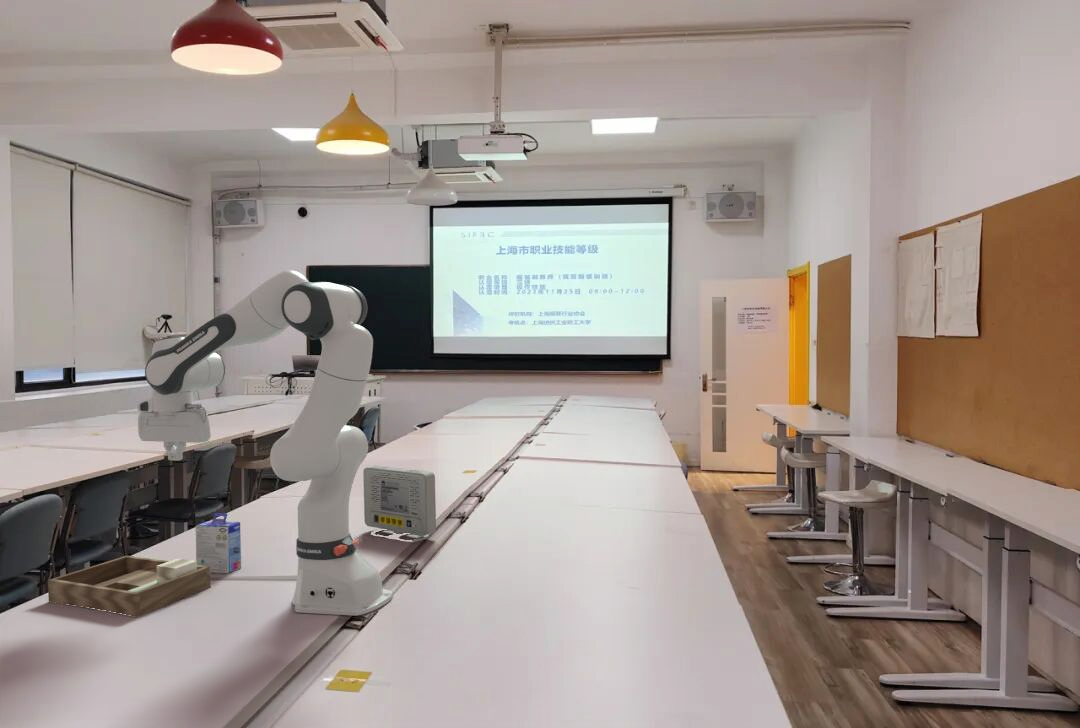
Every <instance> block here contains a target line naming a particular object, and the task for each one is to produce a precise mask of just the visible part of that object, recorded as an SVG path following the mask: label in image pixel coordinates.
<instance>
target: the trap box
mask: <svg viewBox="0 0 1080 728" xmlns="http://www.w3.org/2000/svg"><path fill="white" fill-rule="evenodd" d="M169 561H170V560H162V559H155V558H148V557H139V556H133V555H132V556H131V555H124V556H121V557H117V558H115V559H111V560H108V561H104V562H103V563H99V564H95V565H92V566H89V567H88V566H87V567H86V568H82V569H79V570H75V571H73V572H69V573H67V574H64V575H61V576H57V577H55V578H54V577H53V578H50V579H48V580H47V593H48V596H47V597H48V602H49V603H53V602H56V603H55V604H59V603H63V604H62V605H64V604H69V605H68V606H70V605H76V606H83V607H89V608H95V609H100V610H106V611H111V612H116V613H122V614H126V615H125V616H127V615H131V616H130V617H132V616H136V617H135V618H138V617H140V615H141V616H143V615H145V613H146V614H148V613H151V612H153V611H155V610H159V609H160V608H163V607H165V606H167V605H170V604H172V603H175V602H177V601H180V600H182V599H186V598H188V597H190V596H192V595H194V594H197V593H200V592H202V591H204V590H207V589H209V588H211V572H210V567H209V566H201V565H197V570H195V571H192V572H190V573H187V574H184V575H182V576H179V577H176V578H173V579H171V580H168V581H165V582H163V583H157V566H158V565H160V564H163V563H166V562H169ZM50 601H51V602H50ZM76 606H75V607H76ZM150 611H151V612H150ZM137 616H138V617H137Z"/></svg>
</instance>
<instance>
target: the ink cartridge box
mask: <svg viewBox="0 0 1080 728" xmlns="http://www.w3.org/2000/svg"><path fill="white" fill-rule="evenodd" d="M220 516H221V517H223V518H217V517H220ZM227 518H228V513H226V512H215V513H214V515H213V518H212V520H210V521H204V522H202V523H199V524H196V525H195V561H197V565H201V566H209V567H210V573H216V574H230V573H232V572H235V571H237V570H240V569H242V547H241V546H242V545H241V543H242V540H241V522H240V521H227Z"/></svg>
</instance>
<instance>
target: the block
mask: <svg viewBox="0 0 1080 728" xmlns="http://www.w3.org/2000/svg"><path fill="white" fill-rule="evenodd" d="M168 561H169V562H166V563H163V564H160V565H158V566H157V583H163V582H165V581H168V580H171V579H173V578H176V577H179V576H182V575H184V574H187V573H190V572H192V571H195V570H197V561H196V560H192V559H186V558H185V559H184V558H176V559H172V560H168Z"/></svg>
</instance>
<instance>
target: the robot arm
mask: <svg viewBox="0 0 1080 728" xmlns="http://www.w3.org/2000/svg"><path fill="white" fill-rule="evenodd" d="M368 309H369V308H368V302H367V299H366V297H365V295H364V294H363V293H362V292H361V291H360V290H359V289H357V288H355V287H353V286H351V285H347V284H338V283H333V282H329V281H328V282H327V281H317V282H316V281H315V282H311V281H309V280H308V278H306V276H305V275H303V274H302V273H300V272H298V271H295V270H292V269H291V270H290V269H287V270H282V271H281V272H279V273H277V274H275V275H273V276H272V277H269V278H268V279H267V280H265V281H264V282H263V283H261V284H259V285H258V286H257V287H256V288H255V289H253V290H252V291H251V292H250V293H249V294H248V295H245V297H244V298H242V299H241V300H240V301H238V302H237V303H236V304H234V305H233V306H231V307H230V308H229V309H227V310H225V311H224V312H221V313H220V314H218V315H217V316H215V317H214V318H212V319H211V320H209V321H207V322H205V323H204V324H202V325H201V326H200V327H198V328H196V330H194V331H193V332H192V333H190V334H188V335H186V336H185V337H183V336H172V337H164V338H161V339H157V341H155V342H154V343H153V346H152V351H151V356H150V357H149V359H148V361H147V363H146V365H145V369H144V377H145V379H146V382H147V383H148V385H149V386H150V388H152V393H151V394H152V397H150V398H147V399H145V400H143V401H141V402H139V403H137V411H138V412H139V414H138V418H137V431H138V437H139V439H140V440H141V441H142V442H162V443H163V448H164V449H165V451H166V453H167V460H168V461H182V460H183V458H184V455H183V454H184V451H185V449H186V447H187V443H194V444H196V443H198V444H200V443H201V444H202V443H206V442H209V440H210V439H211V436H212V435H211V426H210V420H209V417H208V416H209V415H208V413H207V409H206V408H205V406H203V405H202V404H201V403H195V404H194V394H193V393H194V392H195V391H204V390H212V389H214V388H217V387H218V386H220V384H221V383H222V382H223V380H224V378H225V375H226V366H225V363H224V360H223V358H222V357H221V355H219V354H218V353H217V352H219V351H221V350H223V349H226V348H230V347H235V346H236V347H237V346H242V345H251V344H252V345H253V344H260V343H264V342H267V341H269V340H271V339H273V338H275V337H277V336H278V335H281V334H282V333H283V332H285V330H286V329H288V328H289V327H290V326H291V328H294V329H295V330H296V331H299V332H301V333H302V334H303V335H304V336H306V337H307V338H308V339H309V340H312V341H315V340H320V342H321V343H320V344H321V353H320V357H319V360H318V364H317V368H316V371H315V375H314V379H313V382H312V385H311V388H310V392H309V396H308V398H307V400H306V403H305V405H304V406H303V409H302V410H301V411H300V413H299V415H298V417H296V419H295V421H294V422H293V424H292V425H291V426H290V428H289V429H288V430H287V431H286V432H285V433H284V434H283V435H282V436H281V437H280V438H278V439H277V440H276V441H275V442H274V443H273V445H272V446H271V450H270V455H269V461H270V462H269V463H270V466H271V468H272V470H273V472H274V474H275V475H276V476H277V477H278V478H279V479H281V480H283V481H286V482H307V481H310V480H311V481H310V482H309V483H310V484H309V486H308V488H307V490H306V492H305V493H304V495H303V496H302V497H301V499H300V500H299V502H298V505H297V535H298V536H297V539H296V542H295V543H296V546H295V548H296V556H297V557H298V559H297V562H298V563H297V572H296V573H297V574H296V575H297V576H296V584H295V589H294V593H293V597H292V604H293V605H294V612H295V613H300V614H301V613H303V614H304V613H305V614H317V615H318V614H320V615H321V614H322V615H334V616H337V615H340V616H361V615H364V614H368V613H371V612H373V611H375V610H377V609H379V608H381V607H383V606H384V605H386V604H387V603H389V602H390V601H391V600H392V598H393V590H389V589H385V588H383V583H382V578H381V574H380V571H379V570H378V568H376V567H375V566H373V565H372V564H371V563H369V561H367V560H366V559H365V558H364V557H363V556H362V555H361V554H360V553H359V552H357V551H356V550H357V548H356V546H357V545H359V544H360V542H359V541H360V538H358V539H355V540H353V538H352V535H351V533H350V532H349V529H350V528H349V518H350V517H349V516H350V515H349V506H350V495H351V491H352V488H353V483H354V480H355V477H356V474H357V473H358V470H359V468H360V466H361V464H362V463H363V462H364V461H365V459H366V458H367V456H368V451H369V441H368V439H367V436H366V435H365V433H364V431H362V430H361V428H359V427H356V426H353V425H346V424H347V423H349V421H351V420H350V419H352V418H353V417H355V416H356V414H357V413H358V411H359V410H360V407H361V403H362V399H363V396H364V393H365V389H366V385H367V382H368V377H369V376H370V375H369V374H370V371H371V365H372V359H373V349H374V338H373V336H372V334H371V333H370V331H369V330H368V329H366V328H365V327H364V326H362V323H363V322H364V321H365V320H366V317H367V316H368V315H367V314H368ZM175 447H176V448H175Z"/></svg>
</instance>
